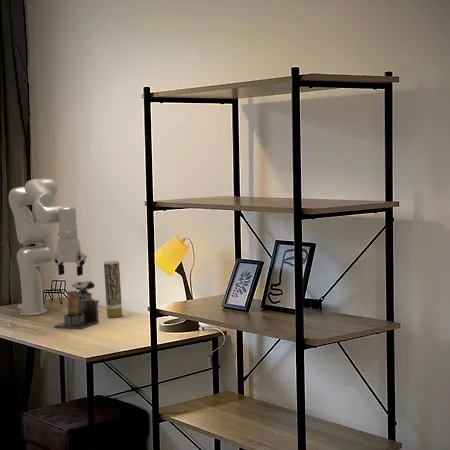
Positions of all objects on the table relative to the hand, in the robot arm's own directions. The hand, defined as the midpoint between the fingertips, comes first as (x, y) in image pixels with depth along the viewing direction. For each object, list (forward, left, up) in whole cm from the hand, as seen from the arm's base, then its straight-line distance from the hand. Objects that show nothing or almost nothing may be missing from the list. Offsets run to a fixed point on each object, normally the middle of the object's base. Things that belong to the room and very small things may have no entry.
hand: (70, 274), depth 355 cm
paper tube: (+7, +22, -23) cm, 32 cm away
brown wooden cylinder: (+1, 0, -21) cm, 21 cm away
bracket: (+1, +1, -22) cm, 22 cm away
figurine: (-12, +26, -23) cm, 36 cm away
